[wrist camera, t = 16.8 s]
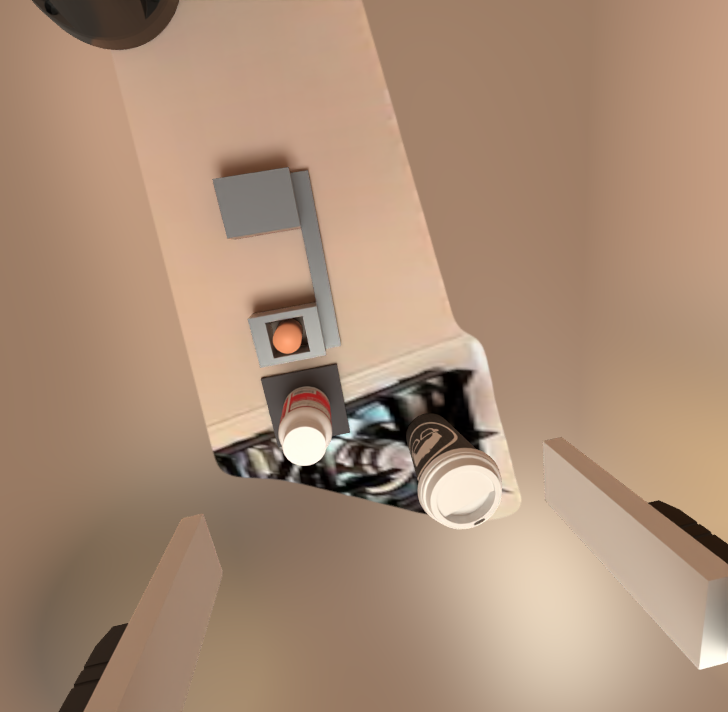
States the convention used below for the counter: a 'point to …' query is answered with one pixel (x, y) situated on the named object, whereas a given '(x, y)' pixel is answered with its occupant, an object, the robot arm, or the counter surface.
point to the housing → (270, 215)
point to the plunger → (288, 336)
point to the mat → (315, 377)
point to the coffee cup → (452, 474)
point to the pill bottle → (305, 425)
